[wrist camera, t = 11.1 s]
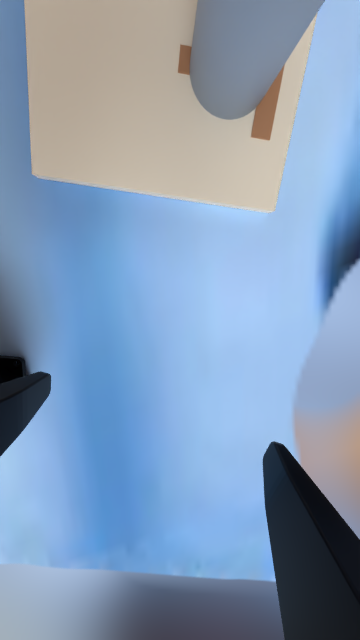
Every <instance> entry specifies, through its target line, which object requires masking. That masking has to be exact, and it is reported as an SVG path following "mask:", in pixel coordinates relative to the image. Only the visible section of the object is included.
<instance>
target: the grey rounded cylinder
mask: <svg viewBox="0 0 360 640" xmlns="http://www.w3.org/2000/svg"><path fill="white" fill-rule="evenodd" d="M324 1H325V0H198V2H197V10H196V17H195V25H194V33H193V41H192V48H191V56H190V80H191V84H192V88H193V91H194V93H195V95H196V98H197V99H198V101H199V102H200V104H201V105H202V106H203V108H204V109H206V110H207V111H208V112H209V113H210V114H212V115H214V116H216V117H218V118H221V119H226V120H233V119H238V118H241V117H244V116H246V115H247V114H249V113H250V112H252V111H253V110H254V109H255V108H256V107H257V106H258V105H259V103H260V102H261V101H262V99H263V97H264V96H265V94H266V93H267V91H268V90H269V88H270V86H271V85H272V83H273V82H274V80H275V79H276V77H277V75H278V74H279V72H280V71H281V69H282V67H283V66H284V64H285V63H286V61H287V60H288V58H289V56H290V55H291V53H292V52H293V50H294V49H295V47H296V45H297V44H298V42H299V41H300V39H301V37H302V36H303V34H304V33H305V31H306V30H307V28H308V26H309V25H310V23H311V22H312V20H313V19H314V17H315V15H316V14H317V12H318V11H319V9H320V7H321V6H322V4H323V3H324Z"/></svg>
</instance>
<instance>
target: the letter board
mask: <svg viewBox="0 0 360 640" xmlns="http://www.w3.org/2000/svg"><path fill="white" fill-rule="evenodd" d="M197 2H198V0H24V3H25V26H26V49H27V72H28V96H29V119H30V142H31V165H32V174H33V175H34V176H36V177H38V178H40V179H46V180H53V181H59V182H66V183H73V184H79V185H86V186H92V187H99V188H105V189H112V190H119V191H125V192H132V193H138V194H145V195H152V196H158V197H165V198H171V199H178V200H185V201H191V202H198V203H204V204H211V205H218V206H224V207H231V208H237V209H244V210H250V211H257V212H264V213H271V212H274V211H275V207H276V202H277V198H278V193H279V188H280V184H281V179H282V175H283V170H284V165H285V161H286V156H287V151H288V147H289V142H290V138H291V133H292V128H293V124H294V119H295V114H296V110H297V105H298V100H299V96H300V91H301V87H302V82H303V77H304V73H305V68H306V63H307V59H308V54H309V50H310V45H311V40H312V36H313V31H314V26H315V22H316V17H317V14H316V15H315V17H314V19H313V20H312V22H311V23H310V25H309V26H308V28H307V30H306V31H305V33H304V34H303V36H302V37H301V39H300V41H299V42H298V44H297V45H296V47H295V49H294V50H293V52H292V53H291V55H290V56H289V58H288V60H287V61H286V63H285V64H284V66H283V67H282V69H281V71H280V72H279V74H278V75H277V77H276V79H275V80H274V82H273V83H272V85H271V86H270V88H269V90H268V91H267V93H266V94H265V96H264V97H263V99H262V101H261V102H260V103H259V105H258V106H257V107H256V108H255V109H254V110H253V111H252V112H250V113H249V114H247V115H246V116H244V117H241V118H238V119H233V120H226V119H221V118H218V117H216V116H214V115H212V114H210V113H209V112H208V111H207V110H206V109H204V108H203V106H202V105H201V104H200V102H199V101H198V99H197V98H196V95H195V93H194V91H193V88H192V84H191V80H190V56H191V48H192V41H193V33H194V25H195V17H196V10H197Z"/></svg>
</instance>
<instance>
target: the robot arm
mask: <svg viewBox="0 0 360 640" xmlns="http://www.w3.org/2000/svg"><path fill="white" fill-rule="evenodd" d="M16 361H17V362H18V363H19V364H17V363H16ZM50 391H51V375H50V374H48V373H45V372H36V373H33V374H30V375H27V376H26V374H25V362H24V360H23V359H22V358H21V357H13V356H1V355H0V456H1V455H2V454H3V453H4V452H5V451H6V449H7V448H8V447H9V446H10V445H11V444H12V443H13V442H14V440H15V439H16V438H17V437H18V436H19V435H20V434H21V432H22V431H23V430H24V429H25V427H26V426H27V425H28V423H29V422H30V421H31V419H32V418H33V417H34V415H35V414H36V412H37V411H38V410H39V408H40V407H41V406H42V404H43V403H44V401H45V400H46V399H47V397H48V396H49V394H50ZM263 477H264V497H265V509H266V517H267V523H268V530H269V537H270V544H271V551H272V557H273V564H274V571H275V578H276V584H277V591H278V598H279V605H280V611H281V618H282V624H283V632H284V638H285V640H360V539H359V538H358V537H357V536H356V534H355V533H354V532H353V531H352V529H351V528H350V527H349V526H348V524H347V523H346V522H345V521H344V519H343V518H342V517H341V516H340V515H339V513H338V512H337V511H336V509H335V508H334V507H333V506H332V504H331V503H330V502H329V501H328V500H327V498H326V497H325V496H324V494H323V493H322V492H321V491H320V489H319V488H318V487H317V486H316V484H315V483H314V482H313V481H312V479H311V478H310V477H309V476H308V474H307V473H306V472H305V471H304V469H303V468H302V467H301V466H300V464H299V463H298V462H297V461H296V459H295V458H294V457H293V456H292V454H291V453H290V452H289V451H288V449H287V448H286V447H285V446H284V445H283V444H281V443H277V442H271V443H270V445H269V447H268V449H267V451H266V452H265V454H264V457H263Z"/></svg>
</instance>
